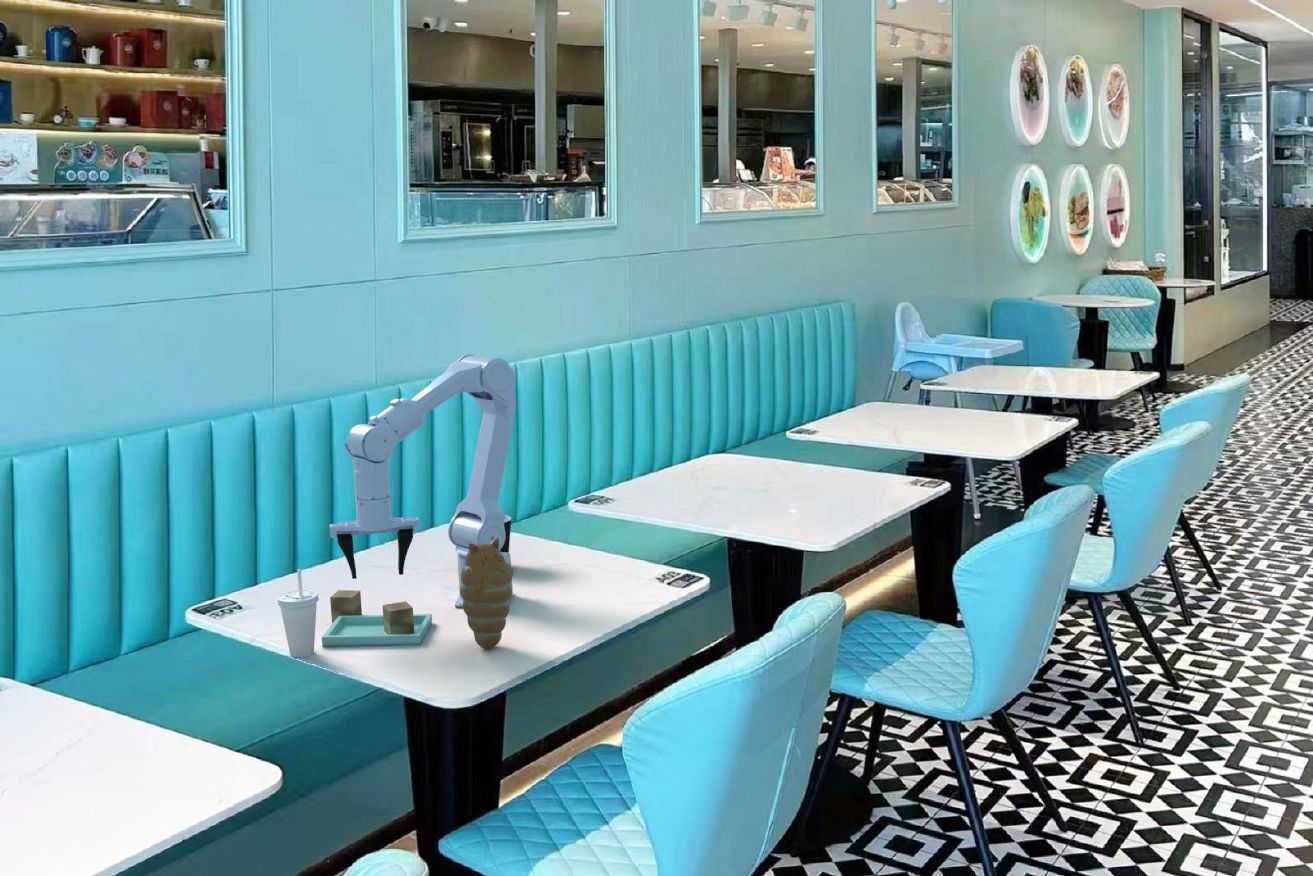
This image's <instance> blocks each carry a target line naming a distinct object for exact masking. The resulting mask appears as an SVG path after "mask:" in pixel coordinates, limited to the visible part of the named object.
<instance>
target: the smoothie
mask: <svg viewBox="0 0 1313 876" xmlns="http://www.w3.org/2000/svg"><path fill="white" fill-rule="evenodd" d="M296 570H297V572H296V573H297V585H298V590H291V591H287V592H286V591H285V592H283V593H281V594H279V596H278V597H277V598H276V599H277V603H276V604H277V606H279V608H280V613H281V617H282V621H283V627H284V631H285V636H286V641H287V645H288V649H289V651H288V652H289V655H290V657H293V658H305V657H309V656H310V657H311V656H312V655H313V654H314V653H315V641H316V640H315V639H316V637H315V636H316V622H317V604H318V601H319V599H320V598H319V594H318V592H317V591H314V590H309V589H303V582H302V581H303V580H302V569H301V568H299V569H296Z"/></svg>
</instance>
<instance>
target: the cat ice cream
mask: <svg viewBox="0 0 1313 876" xmlns="http://www.w3.org/2000/svg"><path fill="white" fill-rule="evenodd" d="M513 577H514V569H513V567H512V564H511V565H510V564H508V563H506V562H505V559H504V557H503V556H502V554H501V553H500V552H499V539H498V538H496V539H495V540H494V541H492V542H491V543H490V544H477V545H475V544H471V543H469V552H468V553H467V556H466V560H465V567H464V568H463V570H462V572H461V582H462V585H461V588H460V594H459V595H461V597H462V598H463V600H464V601H463V607H462V610H463V611H464V613H465V615H466V617H467V619H466V620H467V625H468V627H469V629H470V630H471V631H472V632H473V637H474V640H475V642H476V644H477V645H478V646H479V647H480V648H482V649H492V648H494V647H496V646H497V645H499V643H500V641H501V639H502V635H503V634H502V633H503V631H504V629H505V628H506V625H507V617H508V615H509V613H510V611H511V609H510V603H509V604H508V600H509V599H510V597H511V598H512V596H513V594H512V591H513V590H512V588H511V586H510V582H511V580H513ZM511 595H512V596H511ZM510 600H511V599H510Z"/></svg>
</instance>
